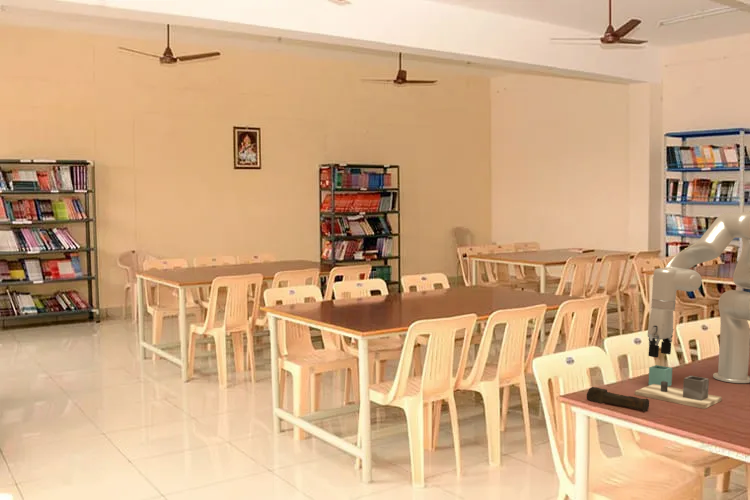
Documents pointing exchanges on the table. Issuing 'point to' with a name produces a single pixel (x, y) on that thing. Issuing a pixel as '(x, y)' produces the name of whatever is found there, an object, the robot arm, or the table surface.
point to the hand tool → (617, 399)
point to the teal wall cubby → (660, 375)
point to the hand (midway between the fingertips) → (659, 355)
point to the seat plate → (683, 393)
